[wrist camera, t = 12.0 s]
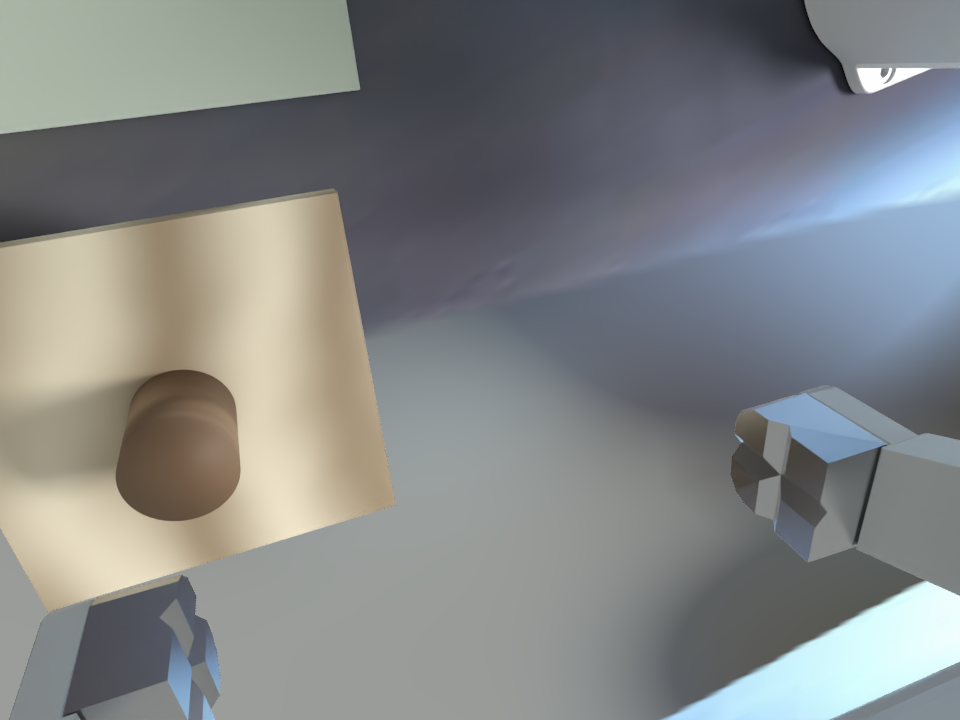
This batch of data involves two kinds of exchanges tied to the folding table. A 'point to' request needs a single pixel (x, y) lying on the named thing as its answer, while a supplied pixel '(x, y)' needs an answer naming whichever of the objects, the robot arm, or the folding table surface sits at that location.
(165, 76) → the lid mat
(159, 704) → the robot arm
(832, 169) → the folding table surface
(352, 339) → the lid
